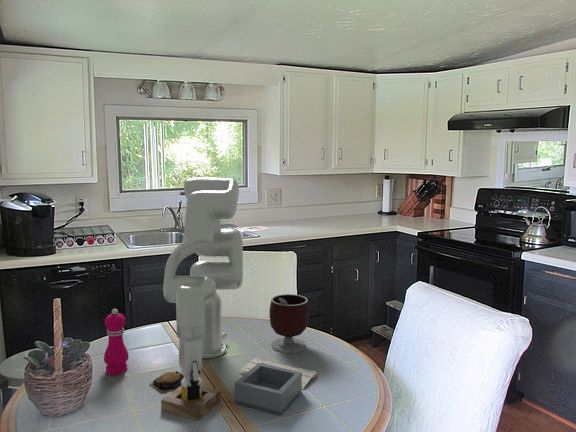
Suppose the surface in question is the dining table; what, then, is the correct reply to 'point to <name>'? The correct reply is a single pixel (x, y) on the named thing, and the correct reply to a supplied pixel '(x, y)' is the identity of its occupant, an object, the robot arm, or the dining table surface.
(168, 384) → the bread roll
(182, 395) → the supplement bottle
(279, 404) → the bin
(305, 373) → the newspaper
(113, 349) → the pepper mill
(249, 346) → the dining table surface
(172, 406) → the socket collar
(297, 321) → the mate gourd
